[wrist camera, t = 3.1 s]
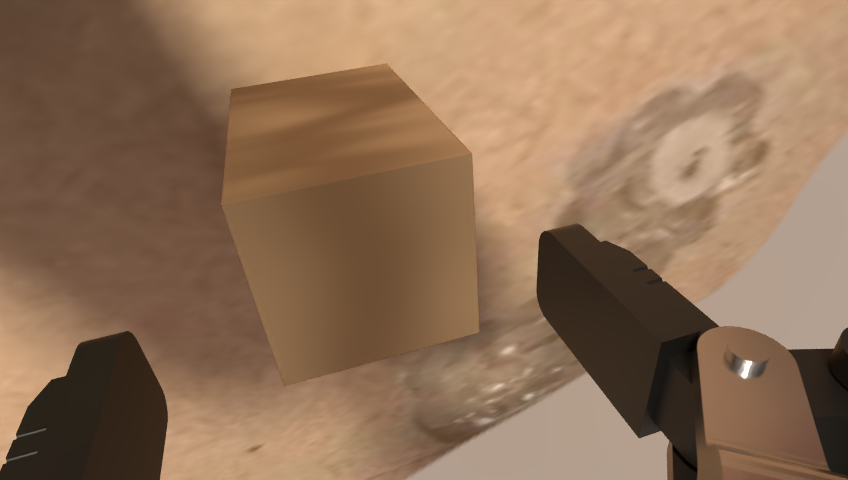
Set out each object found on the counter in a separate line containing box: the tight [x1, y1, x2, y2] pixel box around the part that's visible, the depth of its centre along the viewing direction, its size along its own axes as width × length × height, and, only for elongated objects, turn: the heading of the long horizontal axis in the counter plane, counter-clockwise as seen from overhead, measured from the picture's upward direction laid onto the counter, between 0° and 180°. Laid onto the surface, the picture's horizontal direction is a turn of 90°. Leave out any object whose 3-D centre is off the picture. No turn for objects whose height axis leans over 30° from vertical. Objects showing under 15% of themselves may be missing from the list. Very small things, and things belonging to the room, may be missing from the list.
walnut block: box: [221, 64, 479, 386], centre depth 15 cm, size 5×5×8 cm
